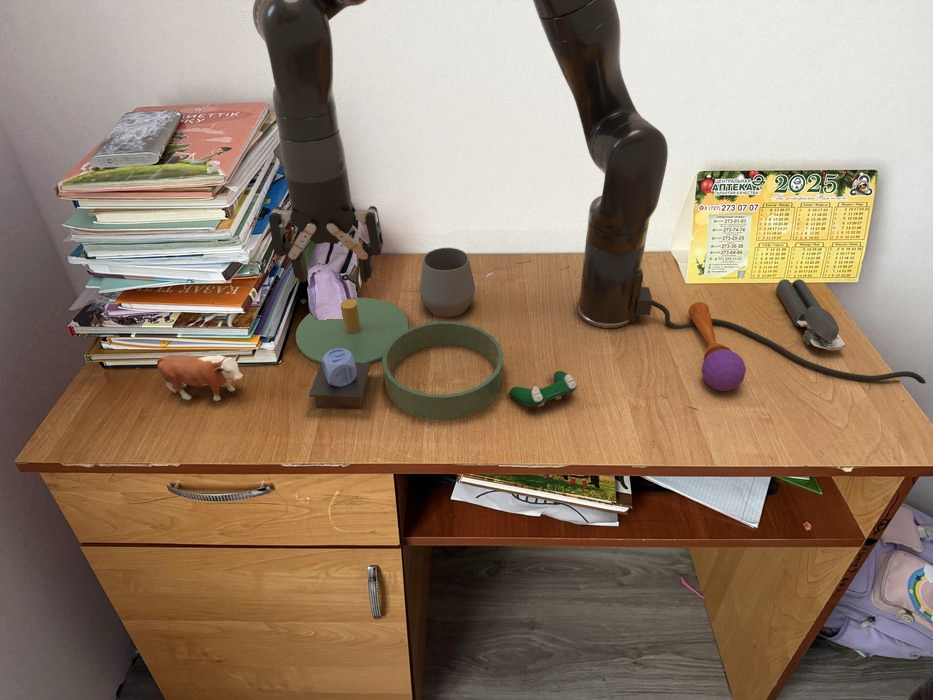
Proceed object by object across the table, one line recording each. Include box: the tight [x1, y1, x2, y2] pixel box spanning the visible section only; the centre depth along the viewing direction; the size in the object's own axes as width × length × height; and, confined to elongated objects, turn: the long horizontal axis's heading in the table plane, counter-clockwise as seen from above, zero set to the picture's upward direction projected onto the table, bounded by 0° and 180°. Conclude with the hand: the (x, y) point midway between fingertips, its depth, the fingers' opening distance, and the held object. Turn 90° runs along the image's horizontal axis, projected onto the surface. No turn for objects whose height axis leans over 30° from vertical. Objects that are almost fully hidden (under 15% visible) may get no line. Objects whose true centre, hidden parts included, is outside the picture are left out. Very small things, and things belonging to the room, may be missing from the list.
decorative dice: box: [322, 348, 357, 387], centre depth 96 cm, size 4×4×4 cm
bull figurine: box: [156, 353, 245, 402], centre depth 97 cm, size 4×13×8 cm, turn 78°
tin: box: [381, 320, 504, 421], centre depth 100 cm, size 18×18×5 cm
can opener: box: [775, 278, 846, 351], centre depth 109 cm, size 19×5×6 cm, turn 178°
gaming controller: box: [508, 370, 578, 408], centre depth 97 cm, size 9×4×6 cm
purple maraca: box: [687, 301, 747, 392], centre depth 104 cm, size 6×6×20 cm
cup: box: [418, 247, 476, 319], centre depth 113 cm, size 10×9×10 cm
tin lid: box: [295, 297, 410, 365], centre depth 109 cm, size 18×18×6 cm
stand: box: [309, 362, 372, 410], centre depth 98 cm, size 8×8×4 cm
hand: (334, 279), depth 93 cm, fingers open, 8 cm apart
